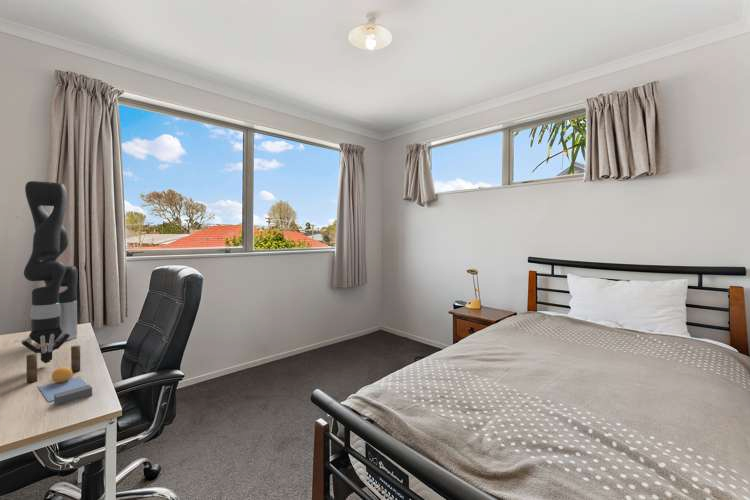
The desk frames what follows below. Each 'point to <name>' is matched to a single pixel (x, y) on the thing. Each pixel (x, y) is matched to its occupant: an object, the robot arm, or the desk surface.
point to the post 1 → (31, 368)
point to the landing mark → (61, 387)
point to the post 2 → (75, 358)
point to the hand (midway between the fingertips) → (46, 362)
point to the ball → (61, 374)
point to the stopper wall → (72, 395)
